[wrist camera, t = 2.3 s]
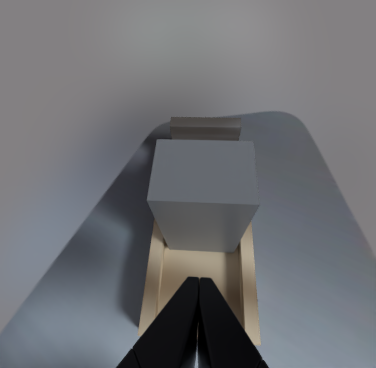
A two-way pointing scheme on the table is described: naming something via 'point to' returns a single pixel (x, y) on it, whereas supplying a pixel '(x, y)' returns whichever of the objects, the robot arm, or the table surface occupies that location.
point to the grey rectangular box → (203, 193)
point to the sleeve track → (201, 260)
